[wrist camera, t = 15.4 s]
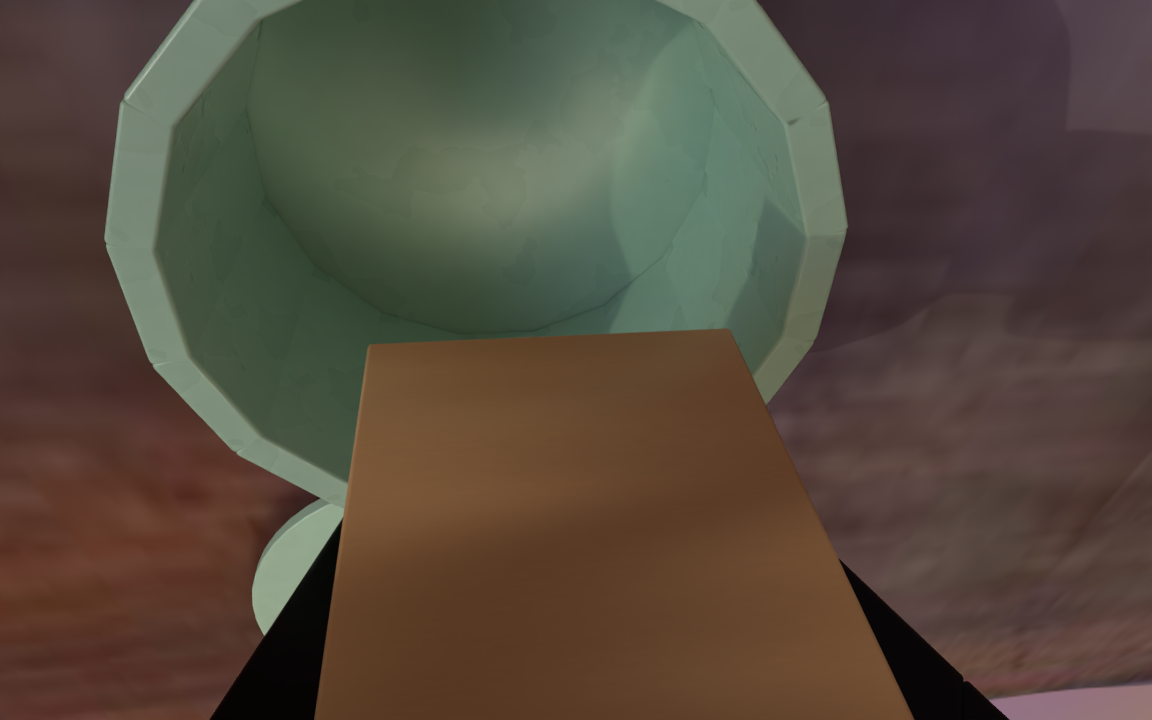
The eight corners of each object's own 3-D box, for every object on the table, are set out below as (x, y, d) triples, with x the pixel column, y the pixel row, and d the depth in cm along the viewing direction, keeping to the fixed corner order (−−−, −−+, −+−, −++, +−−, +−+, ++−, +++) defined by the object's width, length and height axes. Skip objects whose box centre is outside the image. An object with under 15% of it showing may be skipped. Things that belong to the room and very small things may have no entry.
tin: (780, -147, 15) (943, -95, 10) (698, 336, 22) (768, 511, 17) (149, -171, 13) (-40, -125, 8) (278, 351, 20) (216, 545, 15)
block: (730, 326, 10) (943, 774, 6) (685, 550, 13) (806, 964, 8) (367, 342, 9) (293, 850, 5) (404, 572, 12) (378, 1027, 8)
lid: (635, 443, 24) (668, 580, 20) (608, 662, 32) (629, 793, 28) (218, 464, 23) (165, 616, 19) (295, 687, 30) (269, 829, 26)
